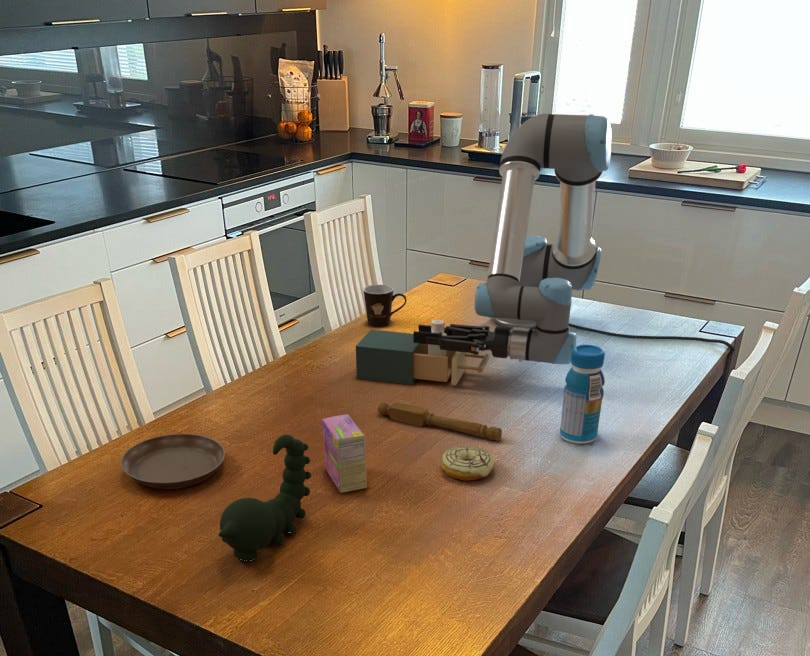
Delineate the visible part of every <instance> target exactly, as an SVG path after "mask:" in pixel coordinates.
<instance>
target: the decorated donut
mask: <svg viewBox="0 0 810 656" xmlns="http://www.w3.org/2000/svg"><path fill="white" fill-rule="evenodd" d="M495 462H496V461H495V456H494V454H492V453H491V452H488V451H487V450H484V449H482V448H480V447H476V446H475V447H474V446H456V447H453V448H449V449H448V450H446V451H444V453H443V454H442V458H441V467H442V469H443V471H444V472H445V473H446V475H448V476H449V477H450V478H452V479H455V480H456V479H457V480H461V481H465V482H466V481H468V482H470V481H477V480H480V479H483V478H487V477H488V476H489V475H491V474H492V472H493V471H494V469H495Z"/></svg>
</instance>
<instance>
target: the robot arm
mask: <svg viewBox="0 0 810 656" xmlns="http://www.w3.org/2000/svg"><path fill="white" fill-rule="evenodd" d="M502 151H503V152H502V154H501V158H500V162H499V168H498V169H499V170H498V172H499V175H500V177H502V179H501V185H500V190H499V191H500V192H499V198H498V204H497V210H496V217H495V224H494V231H493V237H492V244H491V245H492V246H491V251H490V259H489V264H488V265H489V266H488V272H487V280H486V282H481V283H478V284H477V286H476V290H475V294H474V311H475V313H476V314H477V315H478V316H480V317H486V318H492V319H493V322H494V323H495V324H496V326H495V327H494V329H493V331H492V330H490V326H488V325H469V324H468V325H467V324H457V323H451V324H449V325H447V326H444V333H445V334H447V336H445V335H442V332H440V333H432V330H431V325H427V324H418V330H414V331H413V333H412V334H413V343H421V344H431V345H439V346H440V349H441V350H448V351H456V352H465V353H466V354H474V355H480V352H484V351H490V352H491V356H492V357H493V358H495V359H497V358H498V359H505V360H506V359H508V358H509V359H510V360H517V361H519V362H523V361H526V362H527V361H528V362H538V363H545V364H552V365H570V364H571V356H572V350H573V348H574V347H575V346H577V334H576V333H575V332H571V331H570V328H572V329H577V330H580V331H585V332H589V333H595V334H600V335H605V336H610V337H615V338H623V339H624V338H625V339H634V340H635V339H636V340H673V341H675V340H677V341H696V342H703V343H711V344H714V343H715V344H721V345H724V346H726V347H727V348H728V349H729V350H730V351H733V352H735V351H736V350H735V348H734V346H733V345H732V344H731V343H729V342H728V341H726V340H723V339H716V338H715V339H714V338H705V337H699V336H698V337H696V336H679V335H678V336H676V335H674V336H673V335H637V334H635V335H634V334H624V333H617V332H610V331H606V330H600V329H596V328H591V327H586V326H582V325H577V324H573V323H570V318H571V316H570V315H571V310H572V302H573V300H572V298H573V297H572V296H573V291H578V292H579V291H590V290H591V289H592V288H593V287H594V286H595V283H596V280H597V275H598V270H599V266H600V262H601V257H602V256H601V255H602V248H601V247H599V246H597V245H596V242H595V240H594V239H593V238H592V235H593V234H592V233H593V232H592V231H593V222H594V221H593V219H594V207H595V194H596V182H597V181H598V180H599V179H600V178H601V176H602V174H603V172H606V171H608V170H609V168H610V163H611V156H612V155H611V154H612V127H611V122H610V120H609V119H608V118H607V117H605V116H604V115H594V114H591V113H590V114H560V113H559V114H557V113H555V114H554V113H539V114H536V115H534V116H531V117H529V118H528V119H527V120H525V121H524V122H523V123H521V124H520V126H518V128H516V130H515V131H514V132H513V133H512V135H511V136H510V137H509V139H508V141H507V142H506V145H505V147H504V149H503V150H502ZM541 169H549V170H554V175H555V177H556V179H557V180H558V181H559V209H558V210H559V211H558V213H559V214H558V237H557V238H556V239H555V240H554V242H553V243H548V241H547V238H546V237H545V236H539V235H527V233H528V226H529V219H530V214H531V205H532V199H533V191H534V186H535V182H536V180H538V179H539V177H540V175H541Z"/></svg>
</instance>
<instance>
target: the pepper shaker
mask: <svg viewBox="0 0 810 656" xmlns="http://www.w3.org/2000/svg"><path fill="white" fill-rule="evenodd" d="M430 322H431V325H430V326H431V330H432V333H440V332H442V335H445V336H447V334H445V333H444V327H445V320H442V319H433V320H431V321H430ZM428 355H436V356H445V357H446V350H441V349H440V346H439V345H431V344H428Z"/></svg>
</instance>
